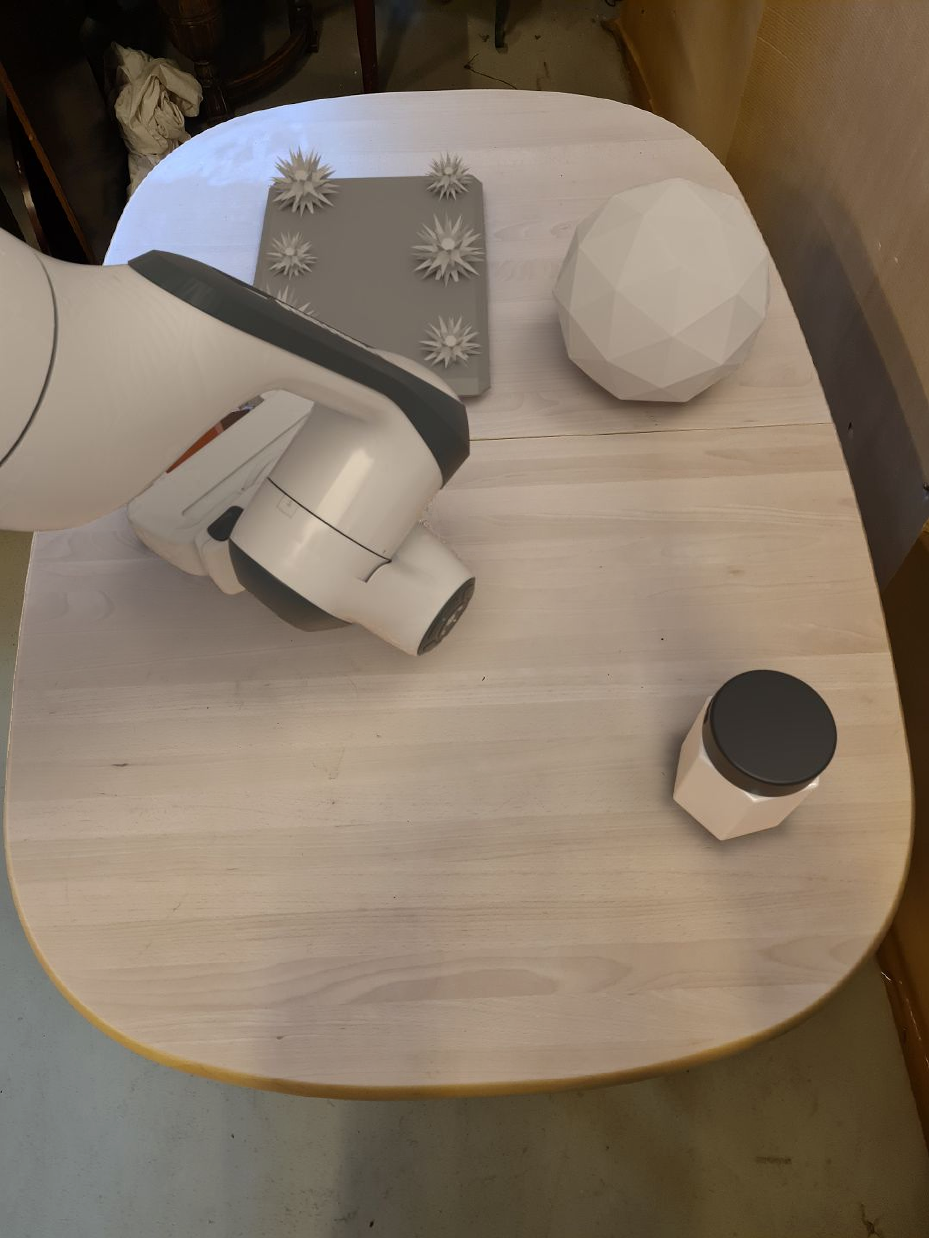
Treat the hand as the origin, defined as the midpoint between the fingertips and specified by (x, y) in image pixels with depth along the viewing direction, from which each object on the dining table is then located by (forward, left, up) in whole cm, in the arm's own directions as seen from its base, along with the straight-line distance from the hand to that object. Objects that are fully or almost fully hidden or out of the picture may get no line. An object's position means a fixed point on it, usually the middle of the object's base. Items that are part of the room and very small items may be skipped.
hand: (188, 419), depth 72 cm
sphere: (+44, +5, -10) cm, 45 cm away
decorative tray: (+19, +24, -10) cm, 32 cm away
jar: (+35, -38, -10) cm, 53 cm away
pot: (-1, +2, -7) cm, 7 cm away
